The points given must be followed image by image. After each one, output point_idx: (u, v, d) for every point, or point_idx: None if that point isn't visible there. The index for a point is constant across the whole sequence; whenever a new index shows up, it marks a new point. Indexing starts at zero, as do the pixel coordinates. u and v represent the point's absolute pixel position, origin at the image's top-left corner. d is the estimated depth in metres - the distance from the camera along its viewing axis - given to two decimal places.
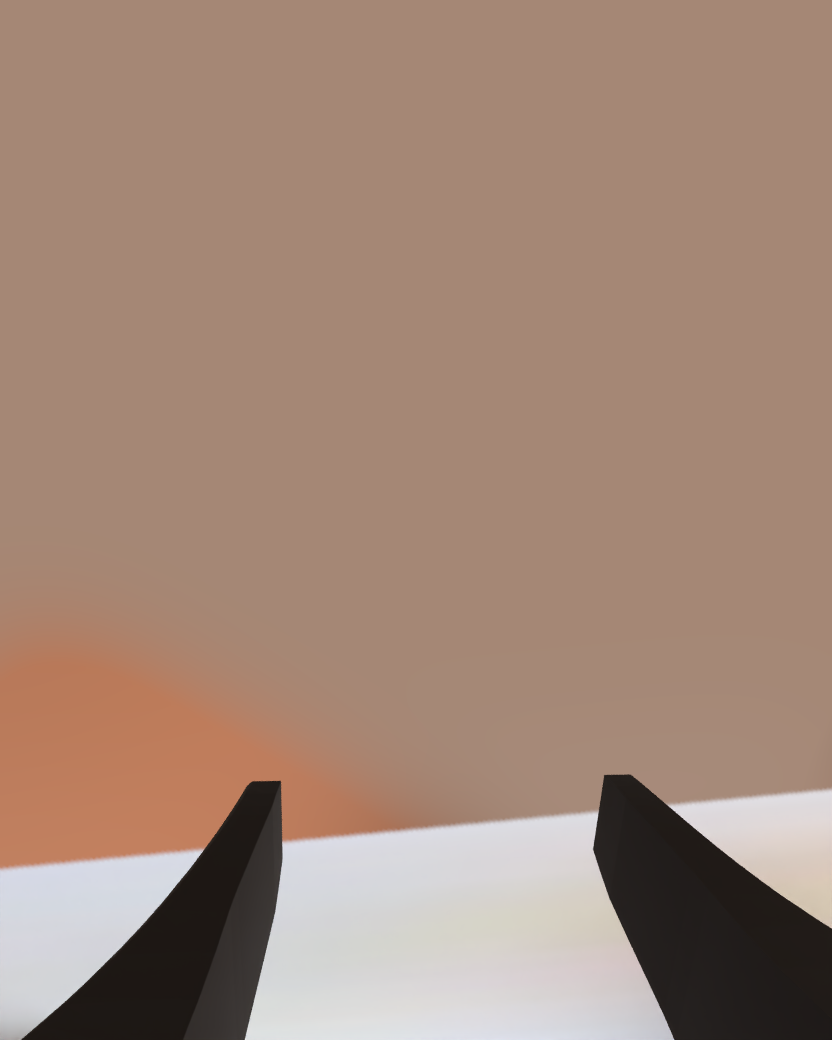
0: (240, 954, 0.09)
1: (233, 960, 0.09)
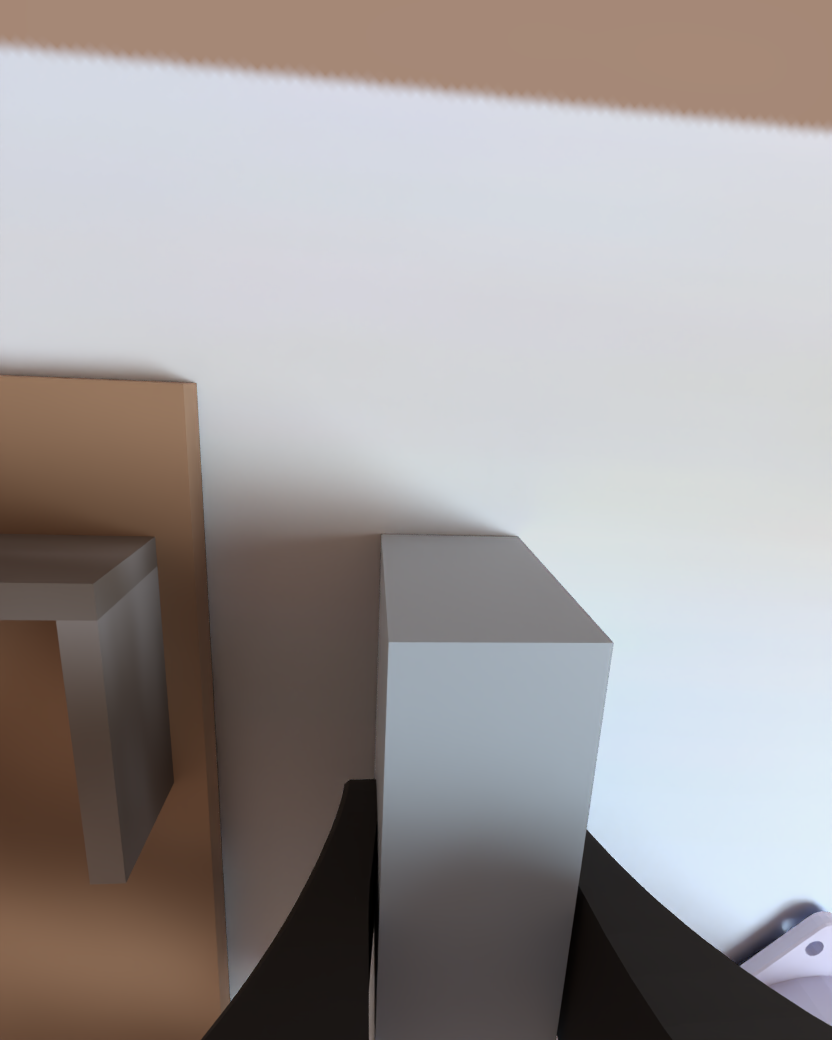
0: None
1: None
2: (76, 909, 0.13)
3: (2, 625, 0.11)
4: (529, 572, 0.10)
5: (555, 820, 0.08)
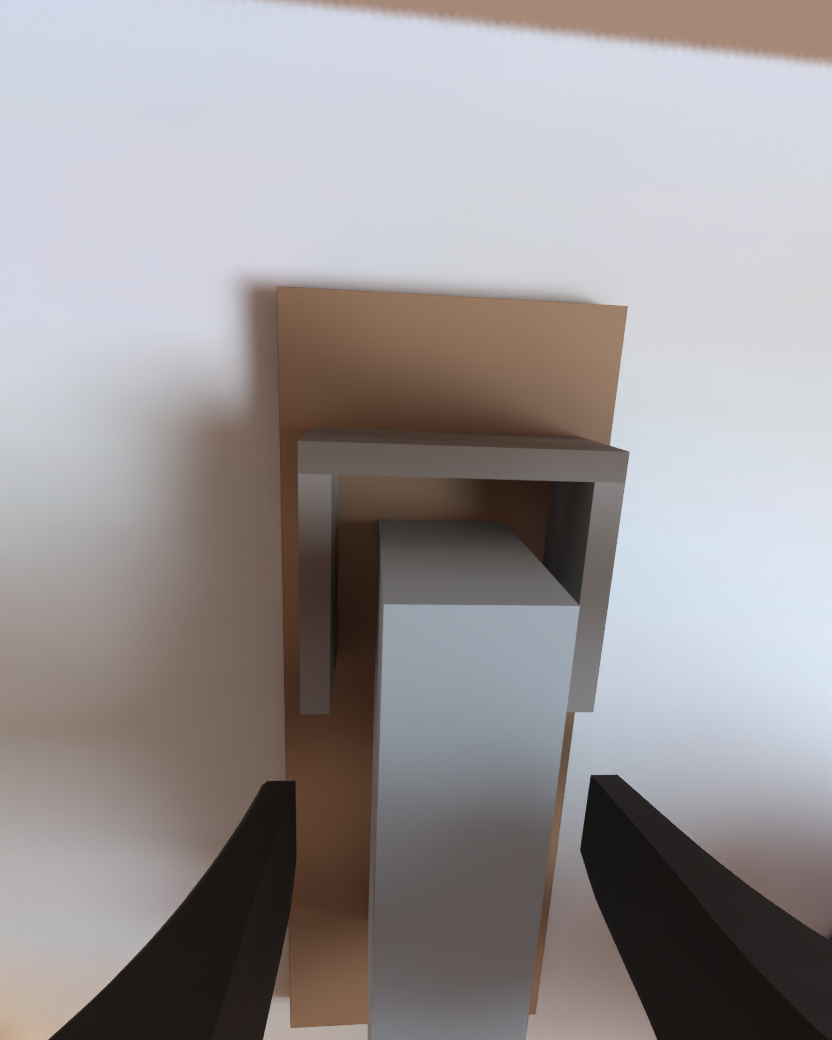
0: (260, 953, 0.09)
1: (253, 959, 0.09)
2: None
3: (447, 512, 0.13)
4: (511, 551, 0.11)
5: (531, 764, 0.09)
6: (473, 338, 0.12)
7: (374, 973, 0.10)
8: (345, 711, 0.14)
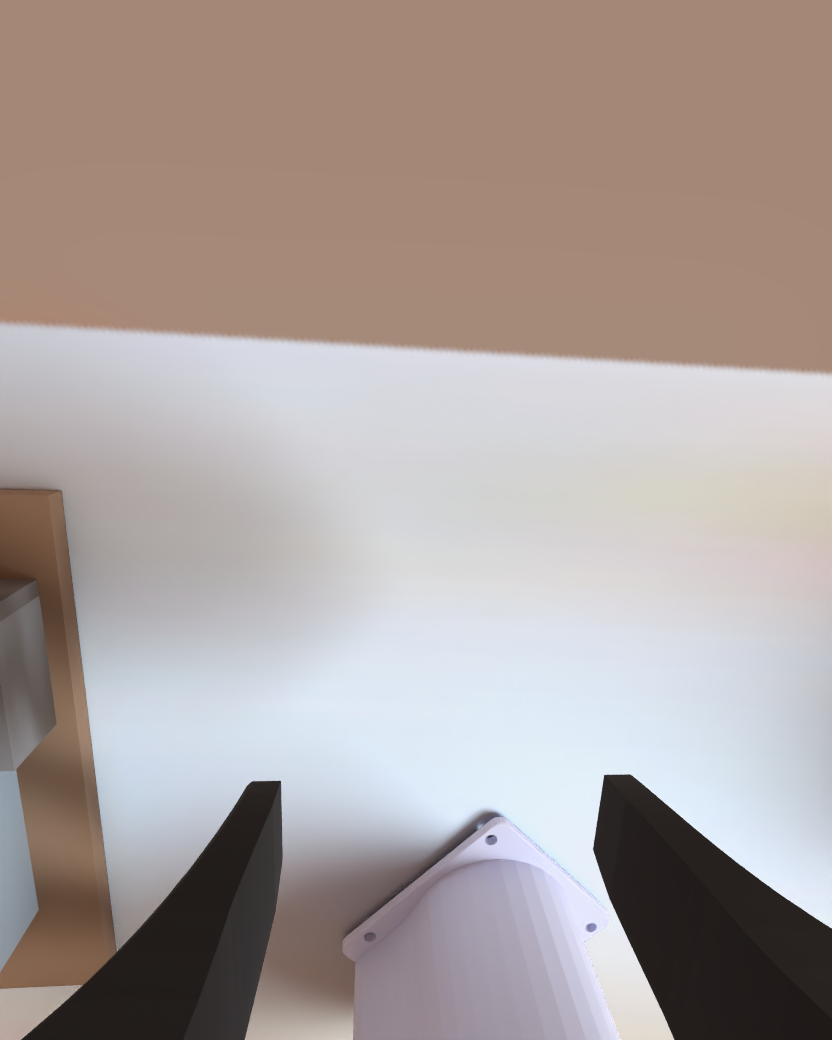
0: (240, 954, 0.09)
1: (233, 960, 0.09)
2: None
3: None
4: None
5: None
6: None
7: None
8: None
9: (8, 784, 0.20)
